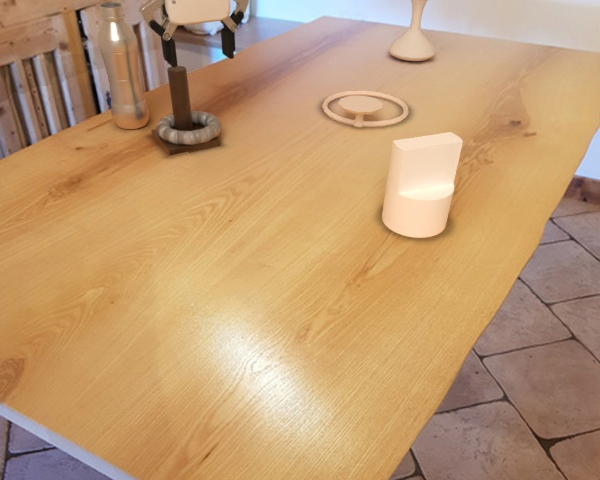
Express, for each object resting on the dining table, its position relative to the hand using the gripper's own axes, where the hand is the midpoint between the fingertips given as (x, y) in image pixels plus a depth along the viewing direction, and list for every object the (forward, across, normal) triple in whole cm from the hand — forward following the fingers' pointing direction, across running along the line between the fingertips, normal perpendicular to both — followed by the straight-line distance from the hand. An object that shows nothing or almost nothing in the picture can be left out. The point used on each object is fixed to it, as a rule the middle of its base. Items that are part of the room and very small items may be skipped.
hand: (200, 60), depth 88 cm
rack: (+13, +4, 0) cm, 14 cm away
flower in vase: (+13, -62, -19) cm, 66 cm away
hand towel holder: (+13, -31, +4) cm, 34 cm away
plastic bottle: (+13, +10, -11) cm, 20 cm away
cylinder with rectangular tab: (+13, -15, +39) cm, 44 cm away
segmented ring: (+11, +3, 0) cm, 11 cm away
